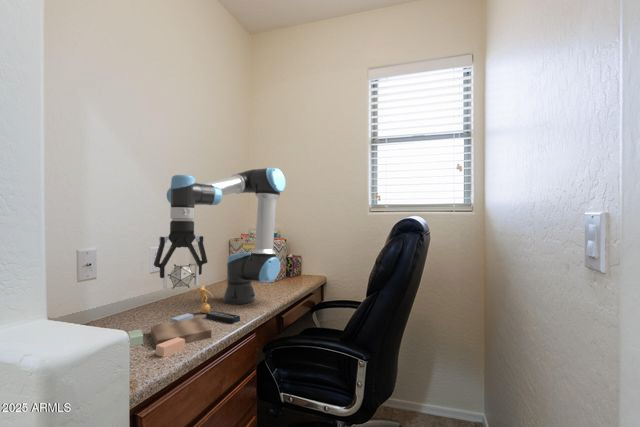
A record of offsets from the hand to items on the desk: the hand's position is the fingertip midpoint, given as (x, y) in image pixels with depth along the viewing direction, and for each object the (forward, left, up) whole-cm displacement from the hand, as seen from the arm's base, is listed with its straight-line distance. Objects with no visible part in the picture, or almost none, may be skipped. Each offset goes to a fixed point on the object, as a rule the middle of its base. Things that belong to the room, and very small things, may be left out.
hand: (181, 285), depth 104 cm
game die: (0, 0, -1) cm, 1 cm away
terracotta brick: (+5, +12, -17) cm, 21 cm away
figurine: (-13, -20, -17) cm, 29 cm away
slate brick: (-3, -12, -17) cm, 21 cm away
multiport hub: (-17, -9, -17) cm, 26 cm away
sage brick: (+13, -2, -17) cm, 22 cm away
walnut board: (0, 0, -17) cm, 17 cm away
